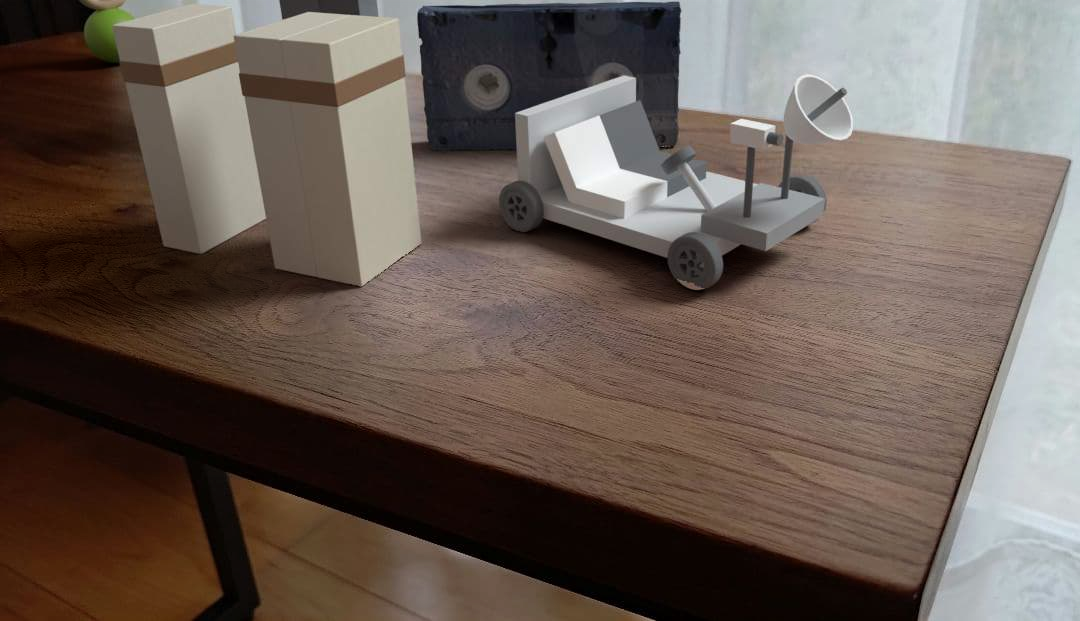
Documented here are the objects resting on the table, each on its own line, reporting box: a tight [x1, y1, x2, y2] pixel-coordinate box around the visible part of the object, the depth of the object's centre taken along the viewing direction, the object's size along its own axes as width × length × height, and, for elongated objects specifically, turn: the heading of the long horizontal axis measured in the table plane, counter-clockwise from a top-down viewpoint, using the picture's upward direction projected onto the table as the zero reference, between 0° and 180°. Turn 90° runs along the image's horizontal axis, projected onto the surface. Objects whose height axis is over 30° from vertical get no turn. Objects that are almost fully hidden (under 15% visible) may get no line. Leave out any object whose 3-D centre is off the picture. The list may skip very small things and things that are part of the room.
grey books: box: [278, 0, 379, 20], centre depth 78 cm, size 6×6×14 cm
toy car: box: [498, 73, 854, 289], centre depth 56 cm, size 18×10×12 cm
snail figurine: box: [78, 0, 136, 64], centre depth 98 cm, size 5×6×12 cm
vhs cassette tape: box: [416, 0, 682, 151], centre depth 71 cm, size 18×3×10 cm, turn 84°
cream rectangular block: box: [112, 3, 266, 255], centre depth 58 cm, size 3×6×13 cm, turn 153°
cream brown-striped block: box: [234, 12, 422, 287], centre depth 54 cm, size 6×6×13 cm
